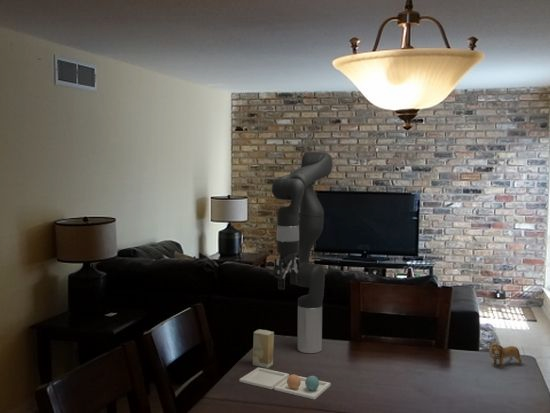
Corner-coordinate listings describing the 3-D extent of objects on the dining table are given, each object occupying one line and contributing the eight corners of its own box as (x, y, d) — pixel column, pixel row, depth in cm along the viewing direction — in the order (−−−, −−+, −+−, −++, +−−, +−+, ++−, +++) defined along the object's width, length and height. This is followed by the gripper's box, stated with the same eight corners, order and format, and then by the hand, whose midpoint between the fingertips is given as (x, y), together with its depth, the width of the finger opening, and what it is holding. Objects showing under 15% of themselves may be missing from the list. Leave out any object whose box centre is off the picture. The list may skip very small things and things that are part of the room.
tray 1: (258, 370, 193) (258, 367, 193) (289, 377, 188) (289, 373, 188) (239, 382, 183) (239, 379, 183) (271, 390, 177) (271, 386, 177)
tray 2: (291, 378, 187) (291, 374, 187) (330, 386, 180) (330, 383, 180) (274, 391, 177) (274, 387, 177) (314, 400, 170) (314, 396, 170)
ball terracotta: (292, 375, 181) (287, 371, 178) (304, 378, 179) (299, 374, 176) (288, 388, 179) (283, 385, 176) (300, 392, 177) (295, 388, 174)
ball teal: (308, 385, 180) (309, 372, 179) (321, 388, 178) (321, 375, 177) (302, 390, 176) (302, 377, 176) (315, 393, 174) (315, 380, 173)
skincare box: (252, 365, 198) (252, 331, 197) (258, 361, 202) (258, 328, 201) (268, 369, 195) (268, 334, 194) (274, 365, 199) (274, 331, 198)
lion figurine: (495, 371, 194) (496, 345, 193) (483, 366, 199) (484, 341, 198) (526, 365, 200) (527, 340, 200) (514, 360, 205) (515, 336, 204)
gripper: (287, 235, 194) (287, 281, 196) (267, 240, 182) (267, 289, 183) (307, 237, 191) (306, 284, 192) (287, 242, 178) (287, 292, 180)
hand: (287, 286), depth 188 cm, fingers open, 8 cm apart
